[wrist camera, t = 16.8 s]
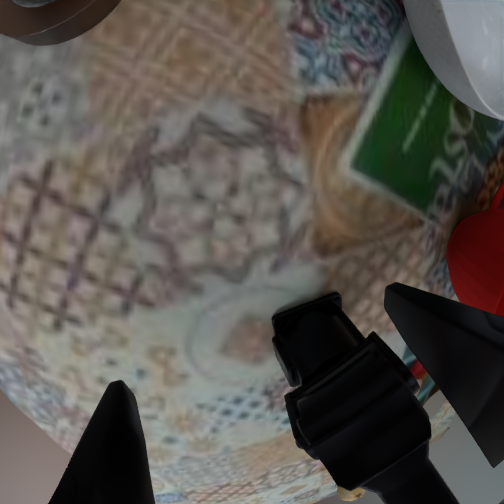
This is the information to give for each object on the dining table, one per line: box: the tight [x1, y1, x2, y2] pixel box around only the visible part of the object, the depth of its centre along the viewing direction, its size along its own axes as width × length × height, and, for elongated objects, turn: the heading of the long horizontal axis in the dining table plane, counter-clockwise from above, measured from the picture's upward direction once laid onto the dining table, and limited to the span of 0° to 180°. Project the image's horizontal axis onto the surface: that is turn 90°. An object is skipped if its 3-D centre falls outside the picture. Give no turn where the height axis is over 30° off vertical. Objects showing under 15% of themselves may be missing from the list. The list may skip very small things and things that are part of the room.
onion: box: [337, 486, 366, 501], centre depth 59 cm, size 8×8×7 cm
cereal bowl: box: [403, 0, 504, 121], centre depth 15 cm, size 17×17×7 cm
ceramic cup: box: [446, 182, 504, 317], centre depth 25 cm, size 13×17×10 cm
